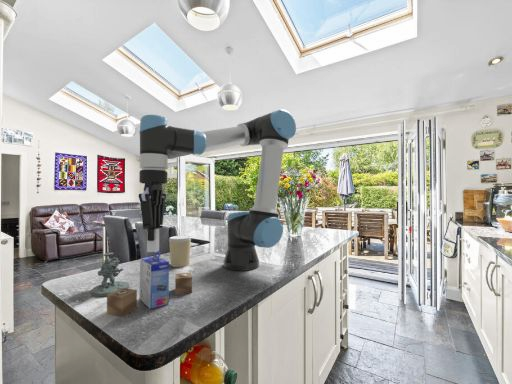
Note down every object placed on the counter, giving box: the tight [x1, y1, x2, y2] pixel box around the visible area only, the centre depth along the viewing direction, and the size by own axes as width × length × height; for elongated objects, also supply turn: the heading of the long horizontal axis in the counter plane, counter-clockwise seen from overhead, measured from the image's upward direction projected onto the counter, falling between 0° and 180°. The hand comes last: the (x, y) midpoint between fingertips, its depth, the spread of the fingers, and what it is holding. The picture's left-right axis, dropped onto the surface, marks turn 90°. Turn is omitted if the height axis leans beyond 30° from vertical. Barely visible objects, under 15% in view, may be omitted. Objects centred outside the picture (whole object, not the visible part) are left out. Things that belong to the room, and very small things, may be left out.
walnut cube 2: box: [174, 271, 193, 296], centre depth 81 cm, size 5×5×5 cm
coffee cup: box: [168, 235, 192, 268], centre depth 110 cm, size 9×9×12 cm
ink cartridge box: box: [138, 250, 170, 310], centre depth 73 cm, size 10×6×14 cm, turn 41°
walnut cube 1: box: [106, 288, 138, 317], centre depth 68 cm, size 5×5×5 cm
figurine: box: [90, 251, 130, 298], centre depth 82 cm, size 11×11×12 cm
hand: (153, 251), depth 73 cm, fingers closed
